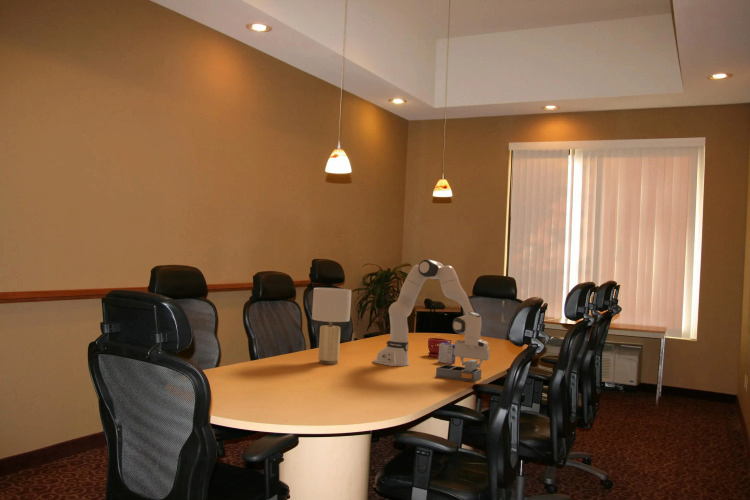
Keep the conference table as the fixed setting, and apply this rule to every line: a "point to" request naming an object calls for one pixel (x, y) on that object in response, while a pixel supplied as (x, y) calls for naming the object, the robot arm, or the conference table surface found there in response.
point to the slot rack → (457, 373)
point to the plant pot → (432, 348)
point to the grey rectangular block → (471, 366)
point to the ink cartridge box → (446, 352)
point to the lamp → (330, 320)
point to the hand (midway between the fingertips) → (471, 366)
